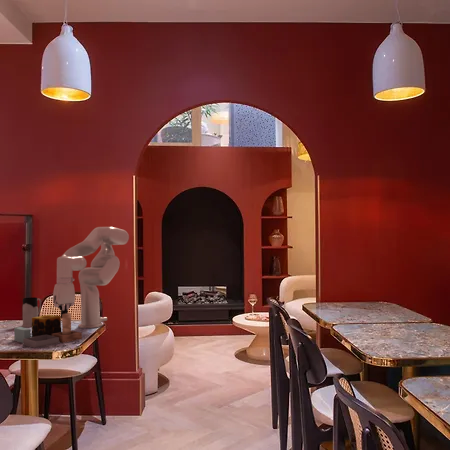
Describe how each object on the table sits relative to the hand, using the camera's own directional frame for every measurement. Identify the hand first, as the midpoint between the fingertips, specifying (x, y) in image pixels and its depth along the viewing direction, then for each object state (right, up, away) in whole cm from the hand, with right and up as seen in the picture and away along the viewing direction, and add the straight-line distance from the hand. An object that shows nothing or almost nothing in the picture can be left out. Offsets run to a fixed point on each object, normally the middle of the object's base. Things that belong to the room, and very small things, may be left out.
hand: (64, 318), depth 246 cm
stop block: (-14, -8, -16) cm, 23 cm away
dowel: (+6, -8, -14) cm, 17 cm away
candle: (-6, -8, -7) cm, 13 cm away
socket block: (+6, -8, -14) cm, 17 cm away
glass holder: (-26, -9, +28) cm, 39 cm away
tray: (-3, -8, -23) cm, 24 cm away
